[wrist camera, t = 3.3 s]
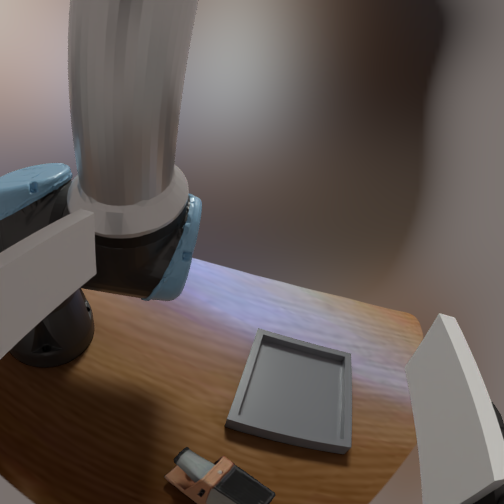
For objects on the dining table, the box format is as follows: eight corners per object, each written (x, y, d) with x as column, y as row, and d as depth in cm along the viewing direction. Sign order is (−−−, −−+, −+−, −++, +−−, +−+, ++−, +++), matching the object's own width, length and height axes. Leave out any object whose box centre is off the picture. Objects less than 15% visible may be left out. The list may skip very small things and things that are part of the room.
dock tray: (224, 426, 32) (227, 418, 31) (255, 337, 47) (258, 328, 46) (343, 454, 30) (351, 447, 29) (345, 362, 45) (350, 353, 44)
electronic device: (190, 455, 28) (194, 425, 24) (263, 503, 24) (285, 484, 20) (163, 479, 24) (161, 455, 20) (240, 532, 20) (257, 522, 17)
